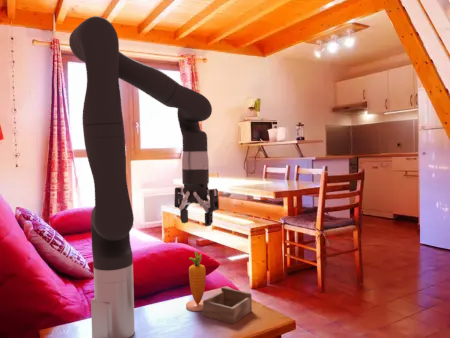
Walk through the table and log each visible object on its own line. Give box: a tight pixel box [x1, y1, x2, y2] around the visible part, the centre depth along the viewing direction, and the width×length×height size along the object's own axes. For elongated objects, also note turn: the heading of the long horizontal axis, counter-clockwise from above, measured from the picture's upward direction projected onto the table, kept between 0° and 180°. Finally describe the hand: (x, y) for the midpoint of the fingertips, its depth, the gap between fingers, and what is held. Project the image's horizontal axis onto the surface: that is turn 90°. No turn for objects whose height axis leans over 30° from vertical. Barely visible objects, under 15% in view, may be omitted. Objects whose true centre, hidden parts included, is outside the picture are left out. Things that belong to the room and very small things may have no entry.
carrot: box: [188, 251, 207, 304], centre depth 108 cm, size 5×5×15 cm
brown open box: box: [202, 286, 253, 325], centre depth 103 cm, size 10×10×5 cm
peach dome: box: [185, 299, 206, 312], centre depth 109 cm, size 7×7×1 cm
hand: (196, 224), depth 108 cm, fingers open, 8 cm apart
